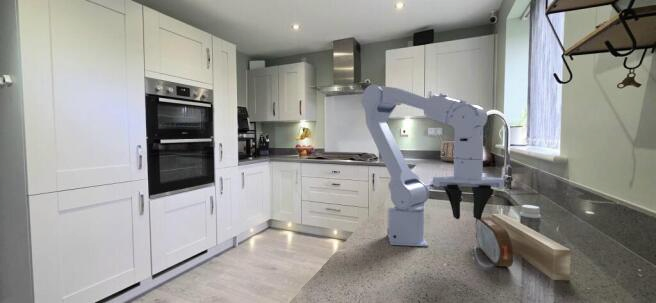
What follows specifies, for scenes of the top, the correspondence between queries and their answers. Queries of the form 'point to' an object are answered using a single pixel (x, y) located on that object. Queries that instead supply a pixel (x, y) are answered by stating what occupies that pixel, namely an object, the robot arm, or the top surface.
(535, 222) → the pill bottle
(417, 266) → the top surface
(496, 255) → the tin
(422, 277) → the top surface
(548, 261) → the board
